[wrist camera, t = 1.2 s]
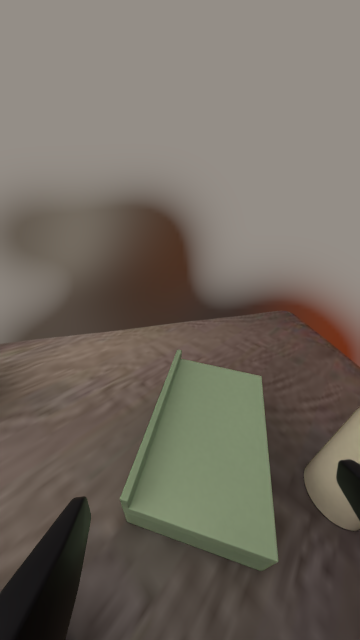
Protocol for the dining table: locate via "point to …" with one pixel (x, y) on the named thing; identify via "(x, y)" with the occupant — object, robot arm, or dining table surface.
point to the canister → (334, 474)
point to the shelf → (207, 466)
